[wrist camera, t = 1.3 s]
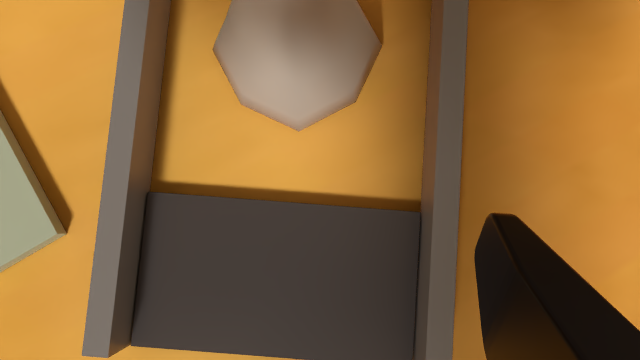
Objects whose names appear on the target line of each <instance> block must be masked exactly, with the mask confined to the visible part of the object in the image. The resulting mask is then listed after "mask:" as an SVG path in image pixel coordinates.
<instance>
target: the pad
mask: <svg viewBox="0 0 640 360" xmlns="http://www.w3.org/2000/svg"><path fill="white" fill-rule="evenodd" d="M66 234H67V233H66V231H65V229H64V227H63V226H62V224H61V222H60V220H59V218H58V216H57V214H56V213H55V211H54V209H53V207H52V205H51V203H50V201H49V200H48V198H47V196H46V194H45V192H44V190H43V188H42V187H41V185H40V183H39V181H38V179H37V177H36V175H35V173H34V172H33V170H32V168H31V166H30V164H29V162H28V160H27V159H26V157H25V155H24V153H23V151H22V149H21V147H20V146H19V144H18V142H17V140H16V138H15V136H14V134H13V132H12V131H11V129H10V127H9V125H8V123H7V121H6V119H5V118H4V116H3V114H2V112H1V110H0V272H2V271H3V270H5V269H7V268H9V267H10V266H12V265H14V264H15V263H17V262H19V261H21V260H22V259H24V258H26V257H28V256H29V255H31V254H33V253H34V252H36V251H38V250H40V249H41V248H43V247H45V246H47V245H48V244H50V243H52V242H53V241H55V240H57V239H59V238H60V237H62V236H64V235H66Z"/></svg>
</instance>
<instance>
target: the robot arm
mask: <svg viewBox="0 0 640 360" xmlns="http://www.w3.org/2000/svg"><path fill="white" fill-rule="evenodd" d="M475 269H476V279H477V289H478V299H479V308H480V318H481V328H482V336H483V344H484V349H485V354H486V359H487V360H640V331H639V330H638V329H637V328H636V327H635V326H634V325H633V324H632V323H630V322H629V321H628V320H627V319H626V318H625V317H624V316H623V315H622V314H621V313H620V312H619V311H618V310H617V309H616V308H614V307H613V306H612V305H611V304H610V303H609V302H608V301H607V300H606V299H605V298H604V297H603V296H602V295H601V294H599V293H598V292H597V291H596V290H595V289H594V288H593V287H592V286H591V285H590V284H589V283H588V282H587V281H586V280H585V279H583V278H582V277H581V276H580V275H579V274H578V273H577V272H576V271H575V270H574V269H573V268H572V267H571V266H570V265H569V264H567V263H566V262H565V261H564V260H563V259H562V258H561V257H560V256H559V255H558V254H557V253H556V252H555V251H554V250H552V249H551V248H550V247H549V246H548V245H547V244H546V243H545V242H544V241H543V240H542V239H541V238H540V237H539V236H538V235H536V234H535V233H534V232H533V231H532V230H531V229H530V228H529V227H528V226H527V225H526V224H525V223H524V222H523V221H522V220H520V219H519V218H518V217H517V216H515V215H513V214H503V213H491V214H489V215H488V216H487V218H486V220H485V223H484V226H483V228H482V231H481V234H480V237H479V239H478V242H477V245H476V248H475Z"/></svg>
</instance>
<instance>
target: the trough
mask: <svg viewBox="0 0 640 360" xmlns="http://www.w3.org/2000/svg"><path fill="white" fill-rule="evenodd" d="M468 4H469V0H432V8H431V27H430V45H429V64H428V82H427V101H426V119H425V138H424V156H423V175H422V193H421V212H411V211H398V210H385V209H371V208H358V207H345V206H331V205H318V204H305V203H292V202H278V201H265V200H252V199H238V198H225V197H212V196H198V195H185V194H172V193H158V192H150V185H151V176H152V167H153V158H154V149H155V140H156V131H157V122H158V113H159V104H160V95H161V86H162V77H163V68H164V59H165V50H166V41H167V32H168V23H169V14H170V5H171V0H125V4H124V12H123V20H122V28H121V36H120V45H119V53H118V61H117V69H116V78H115V86H114V94H113V102H112V111H111V119H110V127H109V135H108V144H107V152H106V160H105V168H104V177H103V185H102V193H101V201H100V210H99V218H98V226H97V234H96V243H95V251H94V259H93V267H92V275H91V284H90V292H89V300H88V308H87V317H86V325H85V333H84V341H83V350H82V356H90V357H103V358H109V357H110V356H112V355H114V354H115V353H117V352H119V351H120V350H122V349H124V348H125V347H127V346H129V345H131V346H138V347H151V348H164V349H177V350H189V351H202V352H215V353H228V354H241V355H254V356H266V357H279V358H292V359H305V360H412V359H413V360H452V352H453V330H454V308H455V287H456V265H457V243H458V221H459V200H460V178H461V156H462V134H463V113H464V91H465V69H466V47H467V26H468ZM418 248H419V249H418ZM416 285H417V286H416ZM414 322H415V323H414Z"/></svg>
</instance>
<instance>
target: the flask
mask: <svg viewBox="0 0 640 360" xmlns="http://www.w3.org/2000/svg"><path fill="white" fill-rule="evenodd" d="M381 47H382V45H381V43H380V41H379V39H378V37H377V36H376V34H375V32H374V30H373V28H372V27H371V25H370V23H369V21H368V20H367V18H366V16H365V14H364V12H363V11H362V9H361V7H360V5H359V4H358V2H357V0H232V2H231V4H230V7H229V10H228V13H227V16H226V19H225V21H224V23H223V25H222V28H221V30H220V32H219V34H218V37H217V39H216V41H215V44H214V47H213V52H214V54H215V55H216V57H217V59H218V61H219V63H220V65H221V67H222V69H223V71H224V73H225V75H226V76H227V78H228V80H229V82H230V84H231V86H232V88H233V90H234V92H235V94H236V95H237V97H238V99H239V101H240V103H241V105H243V106H246V107H248V108H250V109H252V110H254V111H256V112H259V113H261V114H263V115H265V116H267V117H269V118H271V119H274V120H276V121H278V122H280V123H282V124H284V125H287V126H289V127H291V128H293V129H295V130H297V131H301V130H302V129H304V128H306V127H308V126H310V125H312V124H314V123H316V122H318V121H320V120H322V119H324V118H326V117H327V116H329V115H331V114H333V113H335V112H337V111H339V110H341V109H343V108H345V107H347V106H349V105H350V104H352V103H354V102H356V100H357V98H358V96H359V94H360V92H361V90H362V87H363V85H364V83H365V81H366V79H367V77H368V75H369V73H370V71H371V68H372V66H373V64H374V62H375V60H376V58H377V56H378V54H379V52H380V49H381Z"/></svg>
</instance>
